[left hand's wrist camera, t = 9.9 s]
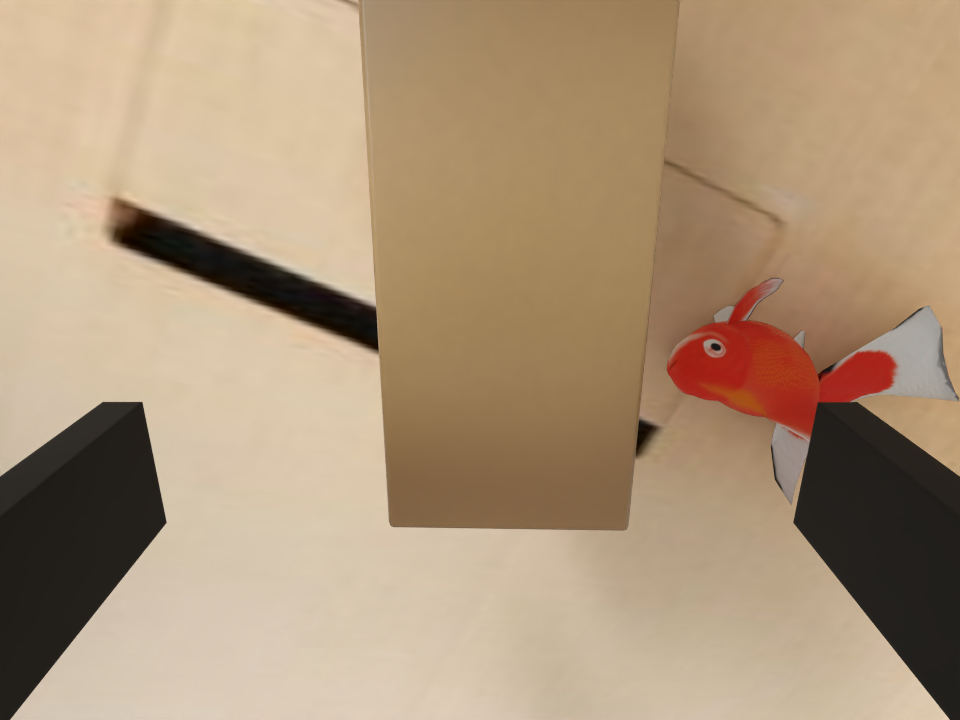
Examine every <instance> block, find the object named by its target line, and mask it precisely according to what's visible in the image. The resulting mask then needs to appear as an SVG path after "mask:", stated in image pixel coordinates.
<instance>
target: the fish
mask: <svg viewBox="0 0 960 720" xmlns="http://www.w3.org/2000/svg"><path fill="white" fill-rule="evenodd" d="M783 281H784V280H782V279H780V278H771V279H769V280H766V281H764V282H762V283H761V284H760V285H758V286H756V287H754V288H753V289H751V290H749V291H747V292H746V293H745V295H744V296H743V297H742V298H741V299H740V300H739V301H738V303H737V304H736V305H735V307H733V306H727V307H725V308H723V309H722V310H720V311H719V312H717V313H716V314H715V315H714V320H715V323H712V324H708V325H705V326H702V327H700V328H699V329H697V330H696V331H694V332H693V333H691V334H690V335H688V336H687V337H686V338H684V339H683V340H682V341H681V342H679V343H678V344H677V345H676V346H675V348H674V349H673V351H672V353H671V355H670V357H669V359H668V362H667V371H668V374H669V376H670V377H671V378H672V380H673V382H674V383H675V385H676V387H677V388H678V389H679V390H680V391H681V392H683V393H685V394H689V395H693V396H696V397H699V398H701V399H705V400H713V401H719V402H721V403H723V404H725V405H726V406H728V407H730V408H732V409H735V410H737V411H739V412H742V413H745V414H748V415H753V416H760V417H766V418H768V419H769V420H771V421H773V422H775V423H776V426H775V429H774V433H773V438H772V443H771V451H772V460H773V468H774V477H775V480H776V482H777V484H778V485H779V487H780V488H781V490H782V492H783V493H784V495H785V496H786V498H787V499H788V501H789V503H790V504H791V505H792V499H793V494H794V491H795V487H796V484H797V480H798V477H799V474H800V472H801V469H802V466H803V464H804V461H805V459H806V457H807V453H808V448H809V443H810V438H811V433H812V428H813V423H814V418H815V413H816V408H817V403H818V402H853V401H855V400H858V399H861V398H864V397H868V396H875V395H895V396H907V397H920V398H933V399H942V400H951V401H959V397H958V396H957V394H956V393H955V391H954V388H953V386H952V383H951V381H950V379H949V376H948V372H947V367H946V363H945V359H944V355H943V338H942V327H941V326H940V324H939V322H938V320H937V318H936V317H935V315H934V313H933V311H932V309H931V308H930V306H926V307H923V308H921V309H919V310H917V311H916V312H915V313H913V314H912V315H911V316H910V317H908V318H907V319H906V320H904V321H903V322H902V323H901V324H899V325H898V326H897V327H896V328H894V329H892V330H890V331H889V332H887V333H885V334H884V335H882V336H880V337H878V338H877V339H875V340H873V341H871V342H870V343H868V344H866V345H865V346H863V347H861V348H860V349H858V350H856V351H855V352H853V353H851V354H850V355H848V356H846V357H845V358H843V359H841V360H840V361H838V362H836V363H835V364H833V365H831V366H830V367H828V368H826V369H825V370H823V371H822V372H821V373H820V374H818V375H817V372H816V370H815V368H814V365H813V363H812V360H811V359H810V357H809V355H808V354H807V353H806V352H805V351H804V339H805V332H804V331H803V330H802V331H801V332H800V333H799V334H798V335H797V336H796V337H795V338H794V339H793V338H792V337H791V336H789V335H788V334H786V333H785V332H783V331H781V330H779V329H777V328H775V327H773V326H771V325H769V324H766V323H762V322H757V321H748V320H747V319H748V318H749V316H750V315H751V313H752V312H753V310H754V308H755V307H756V305H757V304H758V303H759V302H760V301H761V300H763V299H764V298H766V297H767V296H769V295H771V294H772V293H774V292H775V291H776V290H777V289H778V288H779V286H780V285H781V284H782V282H783Z"/></svg>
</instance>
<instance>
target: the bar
mask: <svg viewBox="0 0 960 720" xmlns="http://www.w3.org/2000/svg"><path fill="white" fill-rule="evenodd" d="M358 3H359V20H360V37H361V54H362V71H363V88H364V105H365V122H366V139H367V156H368V173H369V190H370V207H371V224H372V240H373V257H374V274H375V291H376V308H377V325H378V342H379V359H380V376H381V393H382V410H383V427H384V444H385V461H386V478H387V494H388V511H389V523H390V525H391V526H392V527H427V528H494V529H560V530H627V528H628V523H629V513H630V503H631V493H632V483H633V473H634V462H635V452H636V442H637V432H638V422H639V411H640V401H641V391H642V381H643V371H644V361H645V350H646V340H647V330H648V320H649V310H650V299H651V289H652V279H653V269H654V259H655V249H656V238H657V228H658V218H659V208H660V198H661V187H662V177H663V167H664V157H665V147H666V137H667V126H668V116H669V106H670V96H671V86H672V76H673V65H674V55H675V45H676V35H677V25H678V14H679V4H680V0H358Z"/></svg>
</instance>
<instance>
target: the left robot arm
mask: <svg viewBox="0 0 960 720" xmlns="http://www.w3.org/2000/svg"><path fill="white" fill-rule="evenodd" d="M166 523H167V522H166V517H165V512H164V507H163V502H162V497H161V493H160V488H159V483H158V478H157V473H156V468H155V463H154V458H153V453H152V448H151V443H150V438H149V433H148V428H147V423H146V418H145V413H144V408H143V403H142V402H102V403H101V404H100V405H98V406H97V407H95V408H94V409H93V410H91V411H90V412H89V413H87V414H86V415H84V416H83V417H82V418H80V419H79V420H78V421H76V422H75V423H73V424H72V425H71V426H69V427H68V428H67V429H65V430H64V431H62V432H61V433H60V434H58V435H57V436H56V437H54V438H53V439H51V440H50V441H49V442H47V443H46V444H44V445H43V446H42V447H40V448H39V449H38V450H36V451H35V452H33V453H32V454H31V455H29V456H28V457H27V458H25V459H24V460H22V461H21V462H20V463H18V464H17V465H16V466H14V467H13V468H11V469H10V470H9V471H7V472H6V473H5V474H3V475H2V476H0V720H10V719H11V718H12V717H13V715H14V714H15V713H16V712H17V710H18V709H19V708H20V706H21V705H22V704H23V703H24V701H25V700H26V699H27V698H28V696H29V695H30V694H31V693H32V691H33V690H34V689H35V688H36V686H37V685H38V684H39V683H40V681H41V680H42V679H43V678H44V676H45V675H46V674H47V673H48V671H49V670H50V669H51V667H52V666H53V665H54V664H55V662H56V661H57V660H58V659H59V657H60V656H61V655H62V654H63V652H64V651H65V650H66V649H67V647H68V646H69V645H70V644H71V642H72V641H73V640H74V639H75V637H76V636H77V635H78V634H79V632H80V631H81V630H82V628H83V627H84V626H85V625H86V623H87V622H88V621H89V620H90V618H91V617H92V616H93V615H94V613H95V612H96V611H97V610H98V608H99V607H100V606H101V605H102V603H103V602H104V601H105V600H106V598H107V597H108V596H109V595H110V593H111V592H112V591H113V589H114V588H115V587H116V586H117V584H118V583H119V582H120V581H121V579H122V578H123V577H124V576H125V574H126V573H127V572H128V571H129V569H130V568H131V567H132V566H133V564H134V563H135V562H136V561H137V559H138V558H139V557H140V556H141V554H142V553H143V552H144V550H145V549H146V548H147V547H148V545H149V544H150V543H151V542H152V540H153V539H154V538H155V537H156V535H157V534H158V533H159V532H160V530H161V529H162V528H163V527H164V525H165V524H166ZM793 523H794V524H795V525H796V527H797V528H798V529H799V530H800V532H801V533H802V534H803V535H804V537H805V538H806V539H807V540H808V542H809V543H810V544H811V545H812V547H813V548H814V549H815V550H816V552H817V553H818V554H819V556H820V557H821V558H822V559H823V561H824V562H825V563H826V564H827V566H828V567H829V568H830V569H831V571H832V572H833V573H834V574H835V576H836V577H837V578H838V579H839V581H840V582H841V583H842V584H843V586H844V587H845V588H846V589H847V591H848V592H849V593H850V595H851V596H852V597H853V598H854V600H855V601H856V602H857V603H858V605H859V606H860V607H861V608H862V610H863V611H864V612H865V613H866V615H867V616H868V617H869V618H870V620H871V621H872V622H873V623H874V625H875V626H876V627H877V628H878V630H879V631H880V632H881V634H882V635H883V636H884V637H885V639H886V640H887V641H888V642H889V644H890V645H891V646H892V647H893V649H894V650H895V651H896V652H897V654H898V655H899V656H900V657H901V659H902V660H903V661H904V662H905V664H906V665H907V666H908V667H909V669H910V670H911V671H912V673H913V674H914V675H915V676H916V678H917V679H918V680H919V681H920V683H921V684H922V685H923V686H924V688H925V689H926V690H927V691H928V693H929V694H930V695H931V696H932V698H933V699H934V700H935V701H936V703H937V704H938V705H939V706H940V708H941V709H942V710H943V712H944V713H945V714H946V715H947V717H948V718H949V719H950V720H960V476H958V475H957V474H955V473H954V472H953V471H951V470H950V469H949V468H947V467H946V466H944V465H943V464H942V463H940V462H939V461H938V460H936V459H935V458H933V457H932V456H931V455H929V454H928V453H927V452H925V451H924V450H922V449H921V448H920V447H918V446H917V445H916V444H914V443H913V442H911V441H910V440H909V439H907V438H906V437H904V436H903V435H902V434H900V433H899V432H898V431H896V430H895V429H893V428H892V427H891V426H889V425H888V424H887V423H885V422H884V421H882V420H881V419H880V418H878V417H877V416H876V415H874V414H873V413H871V412H870V411H869V410H867V409H866V408H865V407H863V406H862V405H860V404H859V403H858V402H818V403H817V408H816V413H815V418H814V423H813V428H812V433H811V438H810V443H809V448H808V453H807V458H806V463H805V468H804V473H803V478H802V483H801V488H800V493H799V497H798V502H797V507H796V512H795V517H794V522H793Z"/></svg>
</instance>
